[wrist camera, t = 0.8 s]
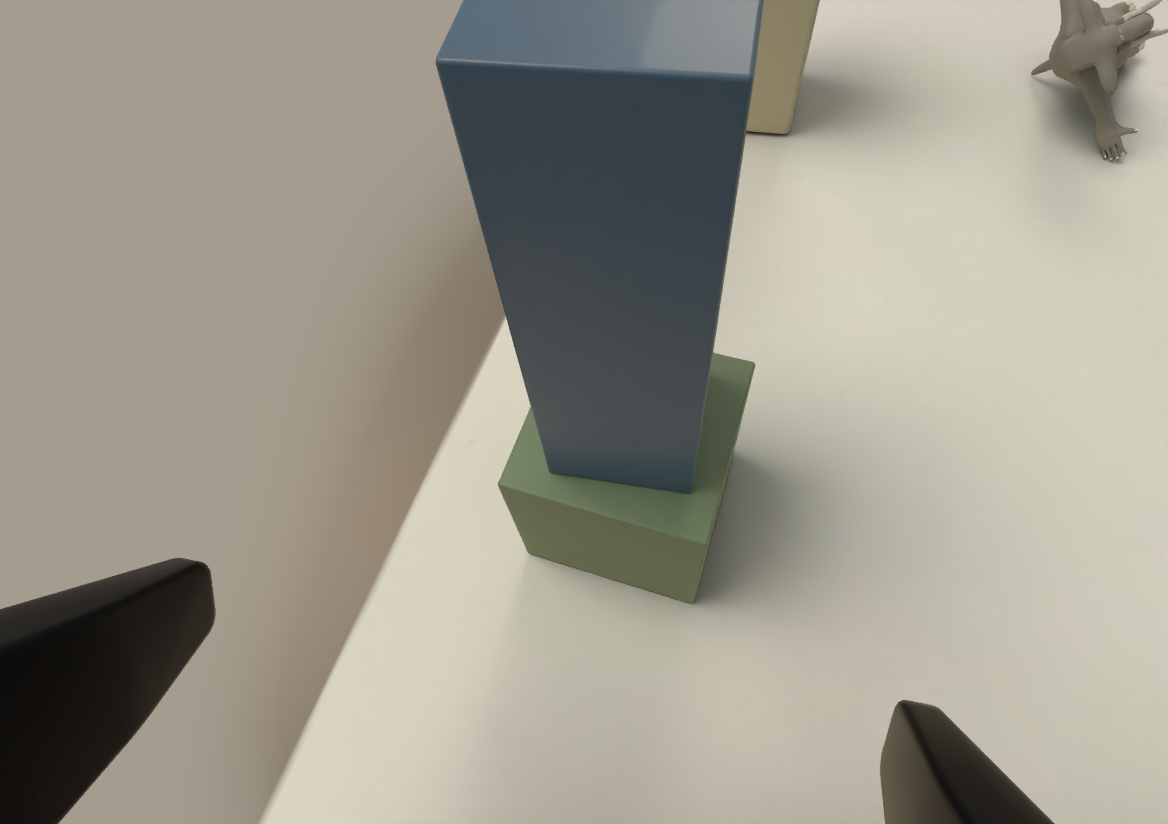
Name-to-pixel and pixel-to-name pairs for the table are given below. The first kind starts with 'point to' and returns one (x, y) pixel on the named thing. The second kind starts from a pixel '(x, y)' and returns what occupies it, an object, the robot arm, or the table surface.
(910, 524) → the table surface
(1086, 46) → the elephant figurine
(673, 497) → the riser
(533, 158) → the peg
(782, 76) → the box
